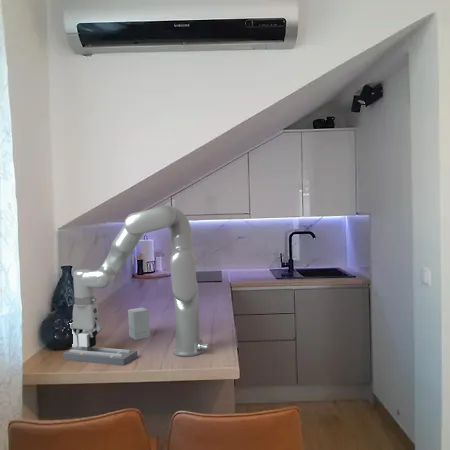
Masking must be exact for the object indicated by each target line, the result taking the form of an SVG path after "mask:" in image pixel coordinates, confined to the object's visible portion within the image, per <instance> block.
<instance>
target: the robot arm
mask: <svg viewBox="0 0 450 450" xmlns="http://www.w3.org/2000/svg"><path fill="white" fill-rule="evenodd" d="M167 228H168V230H169V234H170V245H171V246H170V247H171V256H170V259H169V268H170V278H171V288H172V289H171V291H172V293H173V296H174V317H175V318H174V320H175V340H176V341H175V345H176V346H175V347H174V348H173V349H172V354H173V355H174V356H178V357H194V356H198V355H200V354H203V353H204V352H205V351H207V350H208V351H209V349H210V345H209V343H205V342H203V339H200V337H201V336H200V334H201V333H200V332H201V331H200V317H199V315H200V311H199V309H200V308H199V284H198V281H197V280H198V279H197V271H196V270H197V268H196V256H195V253H194V245H193V244H194V242H193V235H192V229H191V228H192V227H191V224H190V222H189V219H188V217H187V216H186V214H184V212H183V211H181V210H180V209H178V208H176V207H174V206H171V205H167V204H166V205H161V206H156V207H153V208H150V209H147V210H141V211H137V212H133V213H132V212H131V213H129V214H128V215H127V216H126V218H125V219H124V222H123V225H122V227H121V228H120V230H119V232H118V233H117V235H116V236H115V238H114V240H113V241H112V243H111V245H110V250H109V252H108V255H107V257H106V258H105V259H104V261H103V263H102V265H101V266H100V267H99V268H98V269H96V270H95V269H94V270H91V269H90V268H89V269H87V268H84V269H83V268H82V269H81V268H80V269H76V270H74V271H73V273H72V275H73V276H72V279H73V293H74V294H73V295H74V296H73V297H74V304H73V307H72V320H73V322H72V324H71V325H70V328H71V329H72V330H73V331H74V333H75V334H76V336H77V342H78V334H80V333H82V332H83V330H89V333H90V336H91V337H89V343H90V347H96V345H97V338H96V336H97V335H98V334H99V333H100V332H101V330H103V327H102V325H101V322H100V313H99V310H98V309H99V308H98V305H97V303H95V302H96V301H97V298H95V291H94V290H95V289H105V288H107V287H109V285H111V284H112V283H113V282H114V280H115V279H116V277H117V276H118V275H119V273H120V271H121V270H122V268H123V266H124V265H125V263H126V262H127V261H128V259H129V258H130V256H131V255H132V253H133V251H135V248H136V247H137V245H138V244H139V242H140V240H141V239H142V238H143V236H144V235H145V234H146V233H151V232H155V231H159V230H163V229H167ZM78 346H79V342H78Z"/></svg>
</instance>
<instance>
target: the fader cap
mask: <svg viewBox="0 0 450 450" xmlns="http://www.w3.org/2000/svg"><path fill="white" fill-rule="evenodd" d="M89 337H91V336H90V333H89V331H85V332H82V333H80V334H78V342H79V346H81V347H82V351H90V350H92V347H90V343H89Z"/></svg>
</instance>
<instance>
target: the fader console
mask: <svg viewBox="0 0 450 450" xmlns="http://www.w3.org/2000/svg"><path fill="white" fill-rule="evenodd" d="M137 358H138V350H131V349H122V348H110V347H109V348H108V347H99V346H98V347H97V346H93V347H92V350H90V351H82V347H81V346H77V347H75V348H70V349H69V350H66V351H64V352H62V360H65V361H73V362H74V361H75V362H83V363H92V364H93V363H95V364H103V365H112V366H113V365H114V366H125V365H127V364H129V363H131V362H132V361H134V360H135V359H137Z"/></svg>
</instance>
